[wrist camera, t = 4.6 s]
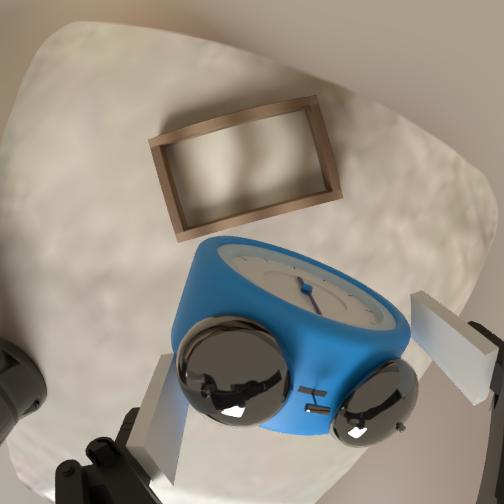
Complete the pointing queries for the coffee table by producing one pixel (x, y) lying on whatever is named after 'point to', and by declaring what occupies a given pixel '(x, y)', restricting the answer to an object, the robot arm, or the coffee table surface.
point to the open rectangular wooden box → (245, 167)
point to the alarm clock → (290, 346)
